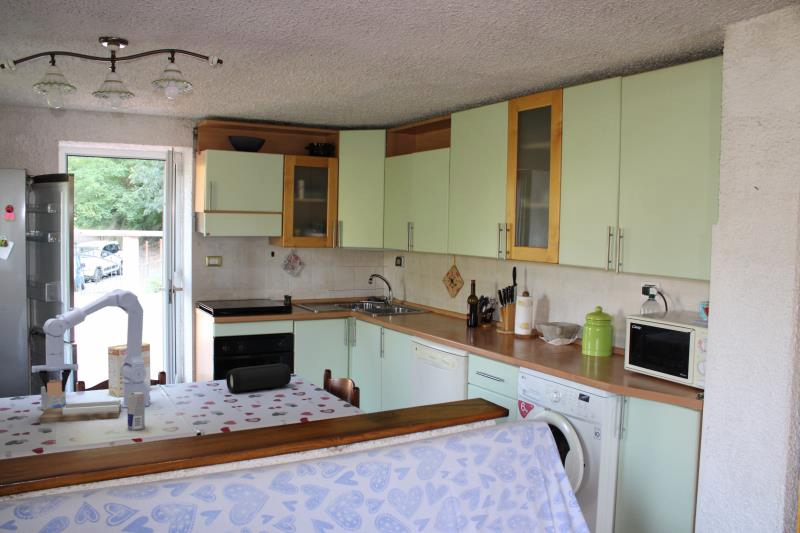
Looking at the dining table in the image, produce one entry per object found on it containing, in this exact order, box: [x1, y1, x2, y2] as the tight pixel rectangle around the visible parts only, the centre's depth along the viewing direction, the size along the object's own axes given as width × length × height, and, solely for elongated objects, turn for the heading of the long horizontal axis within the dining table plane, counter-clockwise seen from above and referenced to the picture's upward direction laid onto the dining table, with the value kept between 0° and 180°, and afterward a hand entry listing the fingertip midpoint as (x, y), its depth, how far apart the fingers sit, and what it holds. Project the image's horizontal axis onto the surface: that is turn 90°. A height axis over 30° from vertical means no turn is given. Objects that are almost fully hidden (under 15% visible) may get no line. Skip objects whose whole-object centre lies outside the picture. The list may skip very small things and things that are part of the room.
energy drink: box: [127, 391, 146, 431], centre depth 231 cm, size 5×5×12 cm
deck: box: [38, 403, 122, 424], centre depth 245 cm, size 25×12×2 cm, turn 107°
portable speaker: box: [225, 363, 292, 394], centre depth 289 cm, size 26×10×10 cm, turn 124°
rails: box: [62, 399, 121, 415], centre depth 246 cm, size 18×8×2 cm, turn 107°
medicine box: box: [40, 386, 67, 411], centre depth 255 cm, size 8×4×9 cm, turn 168°
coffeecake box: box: [107, 341, 151, 398], centre depth 280 cm, size 15×7×20 cm, turn 144°
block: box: [47, 379, 64, 396], centre depth 242 cm, size 4×4×4 cm
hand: (55, 391), depth 242 cm, fingers closed on block, 4 cm apart
